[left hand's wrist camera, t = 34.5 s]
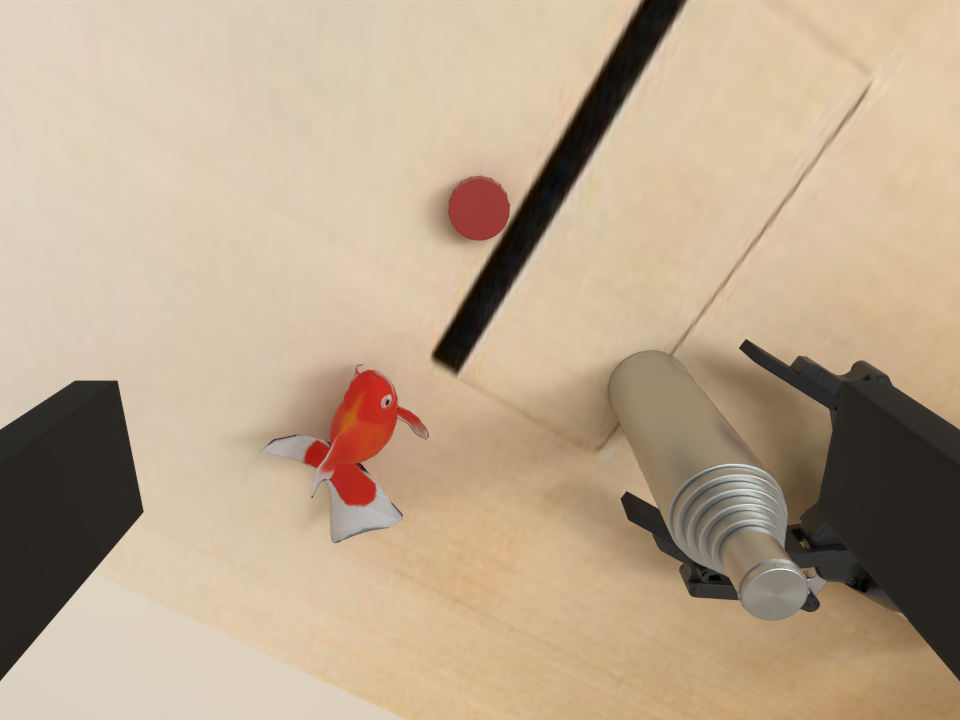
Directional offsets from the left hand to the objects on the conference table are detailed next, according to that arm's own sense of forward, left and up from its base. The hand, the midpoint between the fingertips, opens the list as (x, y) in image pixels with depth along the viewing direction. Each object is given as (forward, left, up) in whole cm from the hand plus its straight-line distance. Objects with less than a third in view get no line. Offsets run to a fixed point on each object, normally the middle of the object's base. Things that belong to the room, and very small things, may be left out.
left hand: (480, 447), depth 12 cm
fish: (+13, -15, -36) cm, 42 cm away
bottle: (+18, +6, -36) cm, 41 cm away
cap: (0, 0, -34) cm, 35 cm away
